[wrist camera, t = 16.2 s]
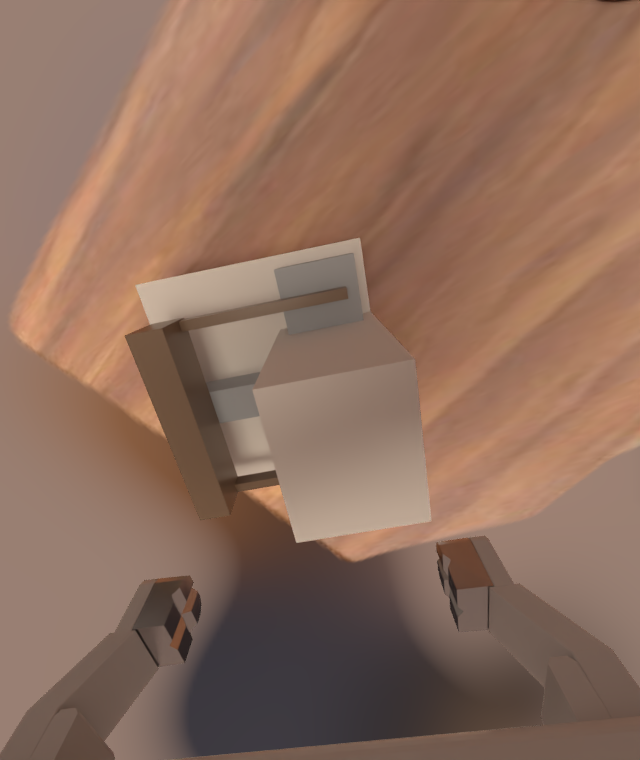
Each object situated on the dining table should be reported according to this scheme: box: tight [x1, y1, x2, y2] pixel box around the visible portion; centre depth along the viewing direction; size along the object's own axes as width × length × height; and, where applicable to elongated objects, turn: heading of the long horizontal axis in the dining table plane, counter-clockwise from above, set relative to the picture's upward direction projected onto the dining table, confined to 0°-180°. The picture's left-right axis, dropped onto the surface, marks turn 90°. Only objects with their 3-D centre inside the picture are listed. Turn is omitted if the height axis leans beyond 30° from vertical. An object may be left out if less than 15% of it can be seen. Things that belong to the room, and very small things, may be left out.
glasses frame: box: [125, 286, 348, 520], centre depth 27 cm, size 16×15×4 cm
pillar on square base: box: [135, 238, 431, 543], centre depth 29 cm, size 22×19×22 cm
